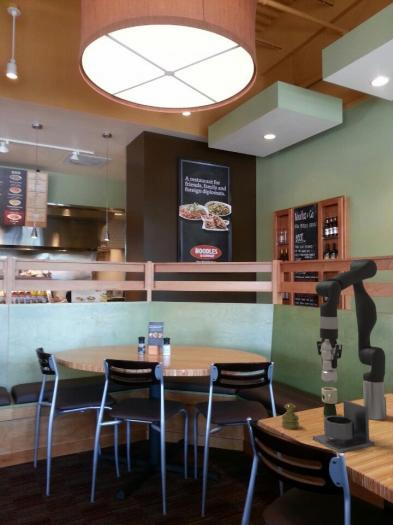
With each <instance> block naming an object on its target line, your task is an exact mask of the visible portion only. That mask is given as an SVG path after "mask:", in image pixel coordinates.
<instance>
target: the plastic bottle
mask: <svg viewBox="0 0 393 525" xmlns="http://www.w3.org/2000/svg"><path fill="white" fill-rule="evenodd" d="M328 344H329V345H328ZM330 350H331V351H332V352H335V347H334V348H332V347H331V344H330V342H329V339H325V341H324V342H323V344H322V345H321V349H320V352H321V351H322V357H321V360H322V359H323V366H322V370H321V380H322V381H323V382H324V383H331V384H332V383H336V382H337V381H338V379H339V378H338V377H339V375H338V371H337V368H335V369H333V368H332V358H331V354H330ZM333 355H334V356H335V354H333Z"/></svg>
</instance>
